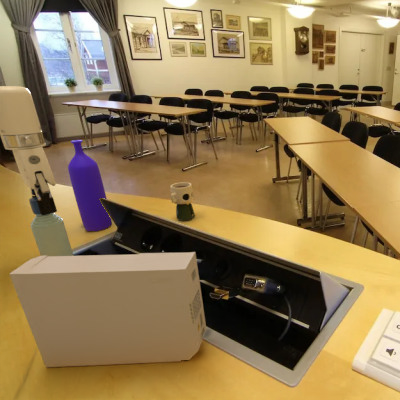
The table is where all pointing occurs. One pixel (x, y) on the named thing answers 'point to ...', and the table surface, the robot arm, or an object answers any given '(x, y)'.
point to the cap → (34, 205)
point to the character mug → (183, 200)
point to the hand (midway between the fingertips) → (46, 210)
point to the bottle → (88, 190)
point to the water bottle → (51, 235)
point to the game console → (112, 307)
